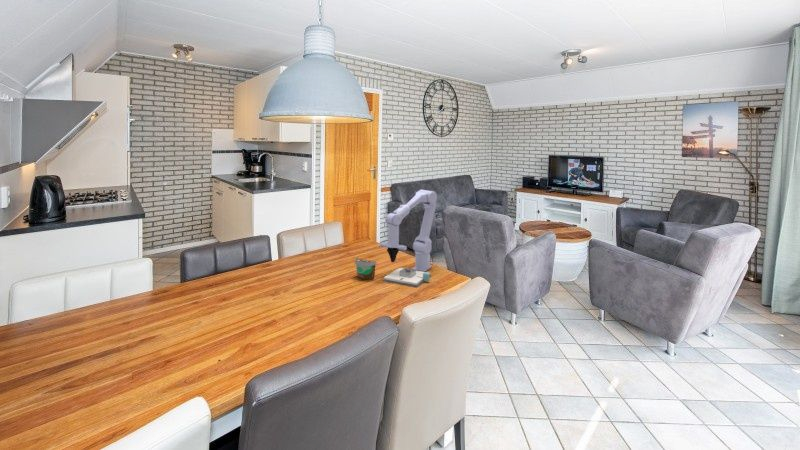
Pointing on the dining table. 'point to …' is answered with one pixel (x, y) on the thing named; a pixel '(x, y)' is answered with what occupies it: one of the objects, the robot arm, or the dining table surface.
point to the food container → (365, 269)
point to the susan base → (404, 283)
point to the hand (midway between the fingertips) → (393, 261)
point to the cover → (407, 272)
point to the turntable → (413, 280)
